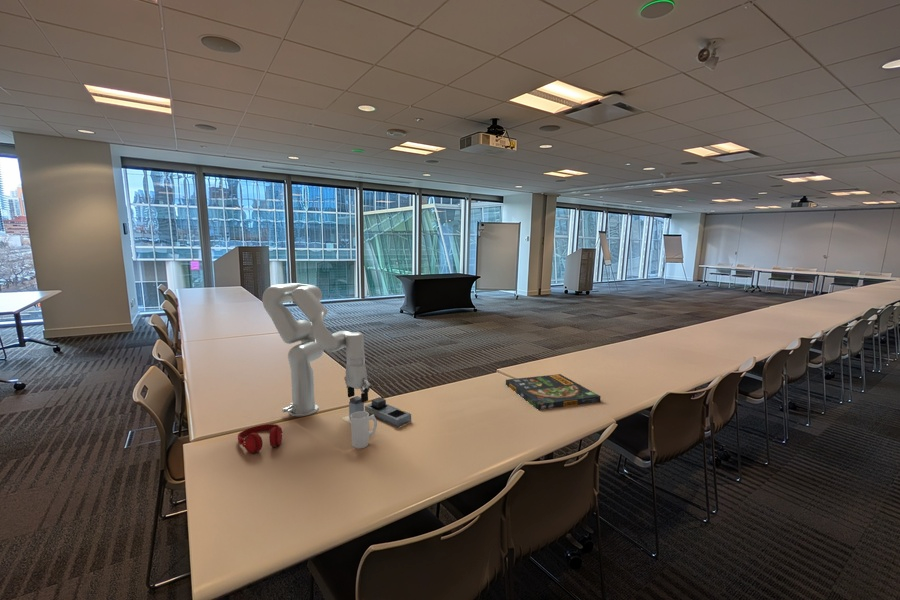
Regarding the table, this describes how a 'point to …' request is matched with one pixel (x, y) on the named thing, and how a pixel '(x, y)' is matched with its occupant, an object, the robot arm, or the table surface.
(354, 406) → the plug
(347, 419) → the coaster
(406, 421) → the pdu strip
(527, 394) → the pizza box
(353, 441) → the mug
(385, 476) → the table surface
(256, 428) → the headphones
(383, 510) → the table surface
